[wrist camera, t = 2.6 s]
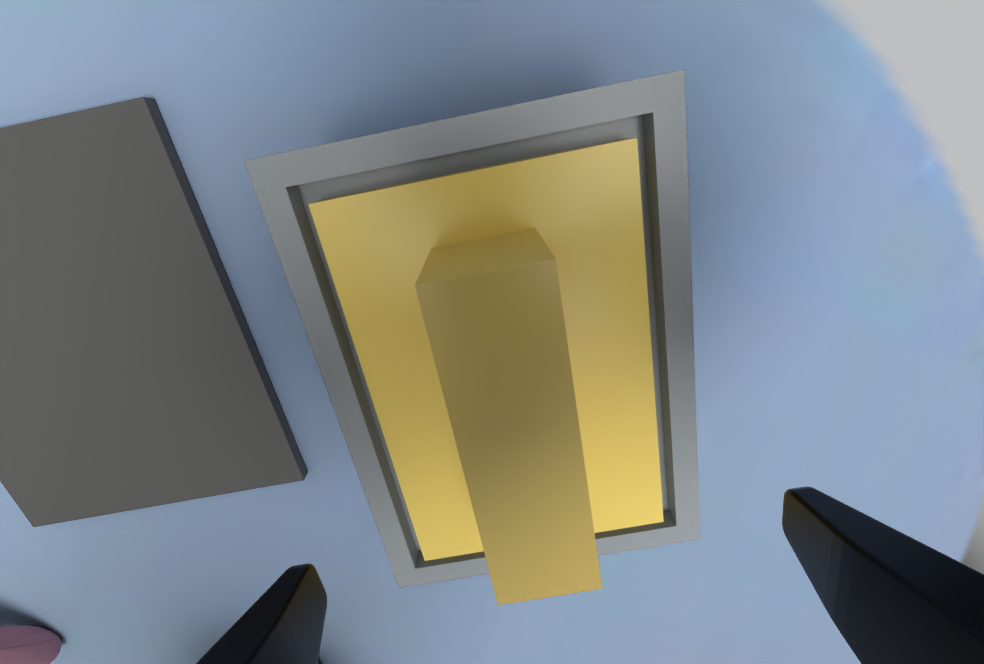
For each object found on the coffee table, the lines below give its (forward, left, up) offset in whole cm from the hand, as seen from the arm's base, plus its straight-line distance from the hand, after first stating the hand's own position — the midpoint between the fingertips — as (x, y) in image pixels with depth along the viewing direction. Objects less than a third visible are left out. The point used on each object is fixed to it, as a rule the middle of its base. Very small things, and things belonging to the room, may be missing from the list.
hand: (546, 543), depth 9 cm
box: (0, 0, -13) cm, 13 cm away
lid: (0, 0, -7) cm, 7 cm away
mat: (-18, +2, -13) cm, 22 cm away
